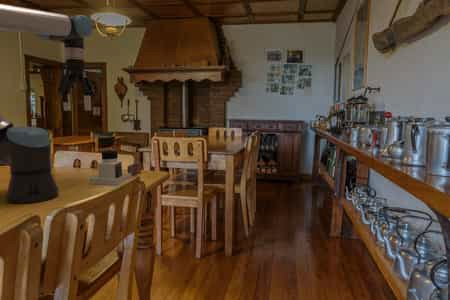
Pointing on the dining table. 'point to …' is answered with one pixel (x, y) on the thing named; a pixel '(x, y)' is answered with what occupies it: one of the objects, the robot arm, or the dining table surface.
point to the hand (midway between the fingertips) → (78, 110)
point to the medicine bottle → (110, 165)
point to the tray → (109, 180)
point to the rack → (134, 169)
